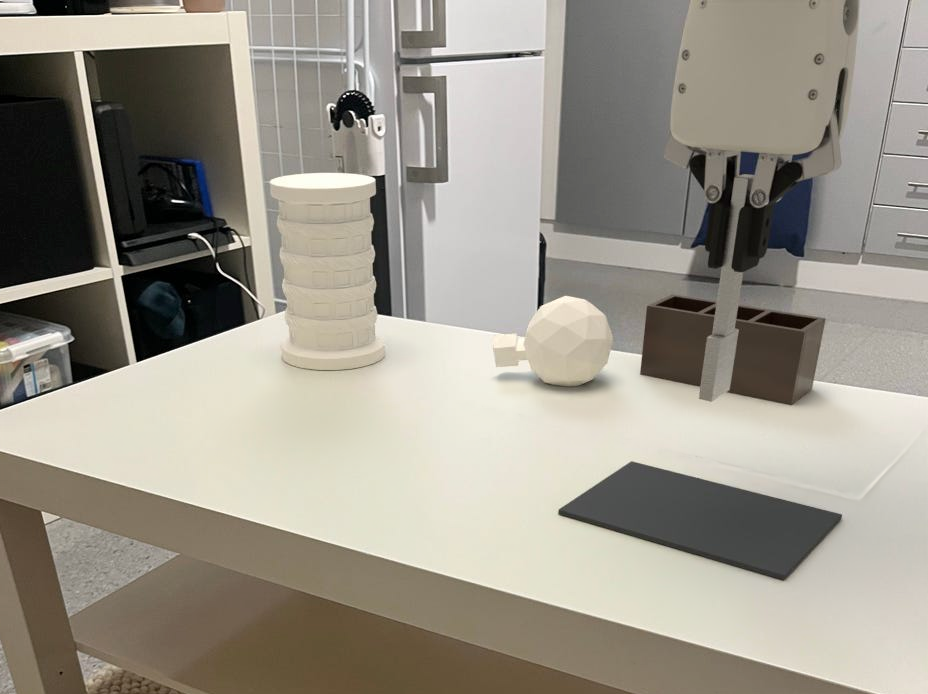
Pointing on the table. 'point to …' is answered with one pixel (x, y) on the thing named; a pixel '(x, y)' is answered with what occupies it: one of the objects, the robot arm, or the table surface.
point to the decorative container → (328, 270)
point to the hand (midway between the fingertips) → (733, 265)
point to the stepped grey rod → (725, 306)
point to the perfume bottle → (560, 343)
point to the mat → (705, 518)
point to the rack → (757, 351)
